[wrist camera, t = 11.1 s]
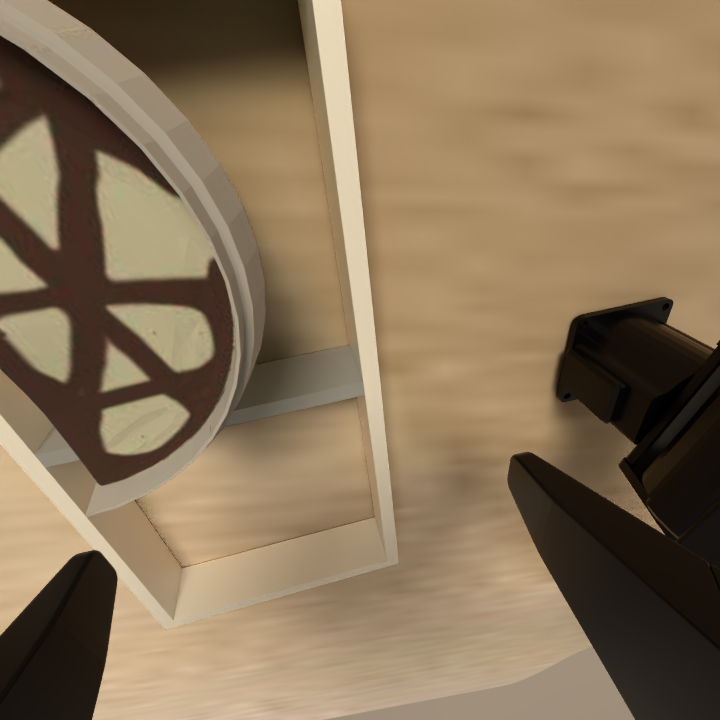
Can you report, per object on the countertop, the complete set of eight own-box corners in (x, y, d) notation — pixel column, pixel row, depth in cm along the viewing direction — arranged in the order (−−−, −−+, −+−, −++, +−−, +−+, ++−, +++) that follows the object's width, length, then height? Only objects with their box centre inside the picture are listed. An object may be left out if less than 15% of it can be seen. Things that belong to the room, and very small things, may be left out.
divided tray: (312, -71, 12) (328, -125, 10) (385, 520, 30) (398, 563, 27) (-266, -24, 11) (-460, -74, 8) (174, 577, 28) (165, 629, 26)
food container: (291, 321, 20) (314, 473, 11) (167, 347, 19) (96, 529, 11) (207, -8, 13) (114, -221, 5) (7, 16, 12) (-524, -183, 4)
